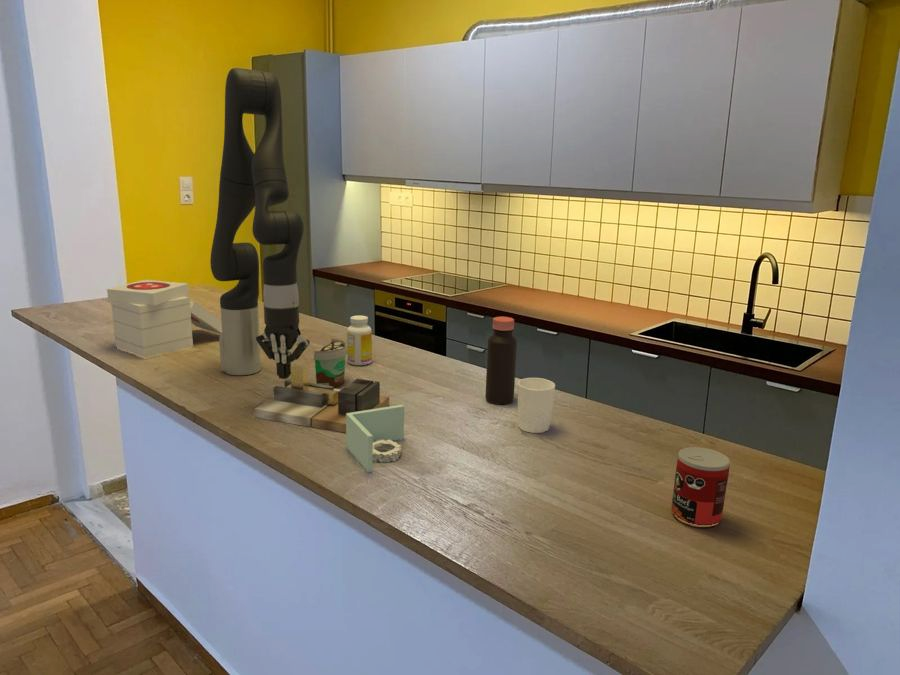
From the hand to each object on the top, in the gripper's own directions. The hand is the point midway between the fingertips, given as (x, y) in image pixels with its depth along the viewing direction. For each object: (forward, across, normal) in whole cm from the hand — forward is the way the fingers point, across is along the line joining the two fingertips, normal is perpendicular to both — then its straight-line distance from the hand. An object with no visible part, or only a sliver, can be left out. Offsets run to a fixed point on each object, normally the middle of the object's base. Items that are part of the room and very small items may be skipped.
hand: (284, 377), depth 155 cm
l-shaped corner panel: (+7, +32, -14) cm, 35 cm away
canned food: (+7, +89, -17) cm, 91 cm away
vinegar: (+7, +45, +22) cm, 51 cm away
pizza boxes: (+7, -56, +29) cm, 63 cm away
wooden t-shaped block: (+4, +7, 0) cm, 8 cm away
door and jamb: (+7, +10, 0) cm, 12 cm away
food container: (+7, +4, +17) cm, 19 cm away
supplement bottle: (+7, +2, +35) cm, 36 cm away
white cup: (+7, +56, +10) cm, 57 cm away
